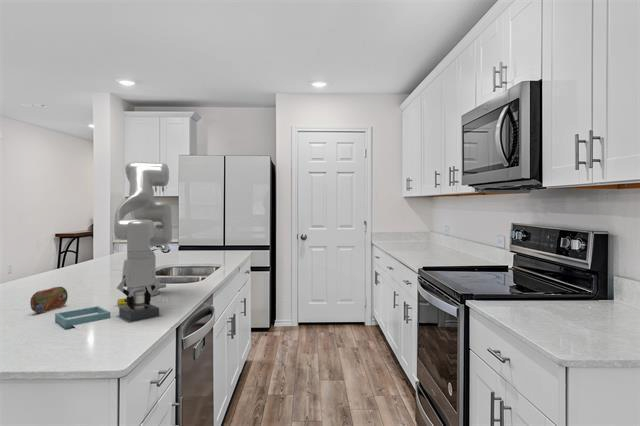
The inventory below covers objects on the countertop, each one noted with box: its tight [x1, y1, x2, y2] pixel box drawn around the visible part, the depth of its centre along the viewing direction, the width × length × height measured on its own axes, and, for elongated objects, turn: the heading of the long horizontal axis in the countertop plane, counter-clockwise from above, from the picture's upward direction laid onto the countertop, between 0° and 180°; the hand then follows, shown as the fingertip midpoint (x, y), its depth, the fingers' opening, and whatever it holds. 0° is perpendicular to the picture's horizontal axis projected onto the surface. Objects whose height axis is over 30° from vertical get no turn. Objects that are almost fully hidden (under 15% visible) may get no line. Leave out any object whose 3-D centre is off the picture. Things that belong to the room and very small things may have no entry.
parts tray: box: [54, 305, 111, 330], centre depth 144 cm, size 14×12×3 cm
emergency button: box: [113, 296, 134, 309], centre depth 165 cm, size 9×4×15 cm
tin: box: [29, 286, 69, 314], centre depth 159 cm, size 15×3×8 cm, turn 168°
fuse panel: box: [115, 303, 163, 324], centre depth 147 cm, size 12×12×4 cm
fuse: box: [133, 290, 145, 310], centre depth 147 cm, size 4×4×9 cm
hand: (139, 305), depth 147 cm, fingers open, 5 cm apart
